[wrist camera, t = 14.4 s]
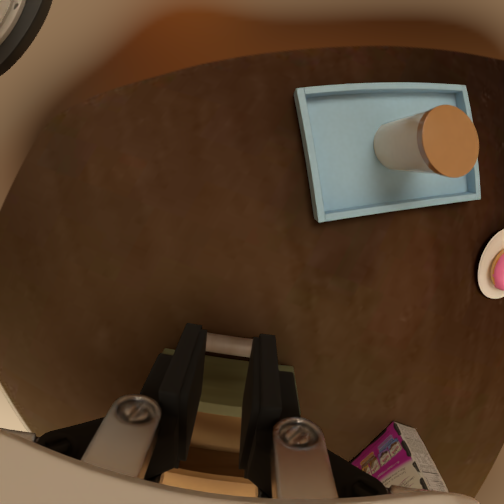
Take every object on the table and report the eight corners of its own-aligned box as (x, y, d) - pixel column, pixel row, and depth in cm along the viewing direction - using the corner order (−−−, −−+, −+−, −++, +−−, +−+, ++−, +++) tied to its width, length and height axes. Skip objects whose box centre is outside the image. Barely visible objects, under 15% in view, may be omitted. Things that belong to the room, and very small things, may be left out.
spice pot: (368, 166, 25) (417, 167, 17) (375, 114, 24) (425, 94, 15) (415, 177, 25) (474, 185, 17) (421, 127, 24) (481, 118, 16)
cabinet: (161, 411, 33) (141, 466, 24) (279, 428, 33) (283, 486, 25) (164, 478, 36) (152, 524, 28) (259, 491, 37) (259, 539, 28)
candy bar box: (364, 476, 36) (389, 566, 20) (338, 470, 35) (359, 569, 20) (418, 426, 34) (465, 520, 18) (393, 418, 33) (439, 522, 17)
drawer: (166, 305, 28) (142, 342, 22) (303, 324, 29) (315, 367, 22) (165, 438, 33) (152, 480, 26) (268, 453, 33) (270, 497, 27)
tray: (314, 218, 27) (318, 222, 25) (293, 93, 24) (296, 88, 22) (469, 196, 26) (481, 199, 24) (454, 88, 23) (465, 85, 22)
